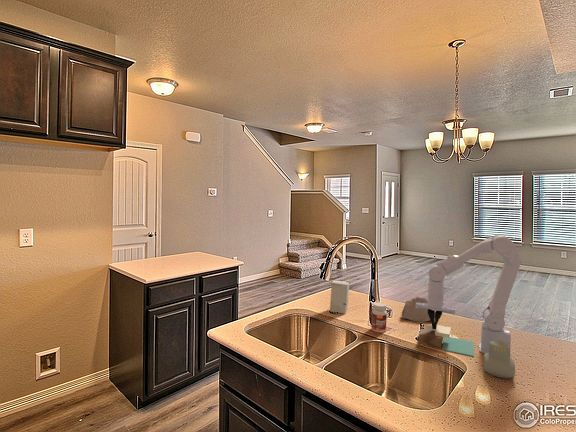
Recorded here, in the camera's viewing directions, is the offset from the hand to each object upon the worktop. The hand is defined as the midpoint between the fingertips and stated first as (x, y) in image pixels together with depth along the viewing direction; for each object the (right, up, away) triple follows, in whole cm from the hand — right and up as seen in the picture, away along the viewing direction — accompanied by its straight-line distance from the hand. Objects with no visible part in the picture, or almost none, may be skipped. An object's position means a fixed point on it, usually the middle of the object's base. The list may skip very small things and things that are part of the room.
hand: (434, 328), depth 135 cm
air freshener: (+10, -7, -25) cm, 28 cm away
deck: (-1, -5, 0) cm, 5 cm away
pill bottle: (-20, -4, +10) cm, 23 cm away
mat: (+7, -5, -5) cm, 10 cm away
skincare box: (-33, -3, +33) cm, 47 cm away
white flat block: (+2, -1, -2) cm, 4 cm away
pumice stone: (+3, -4, +24) cm, 25 cm away
